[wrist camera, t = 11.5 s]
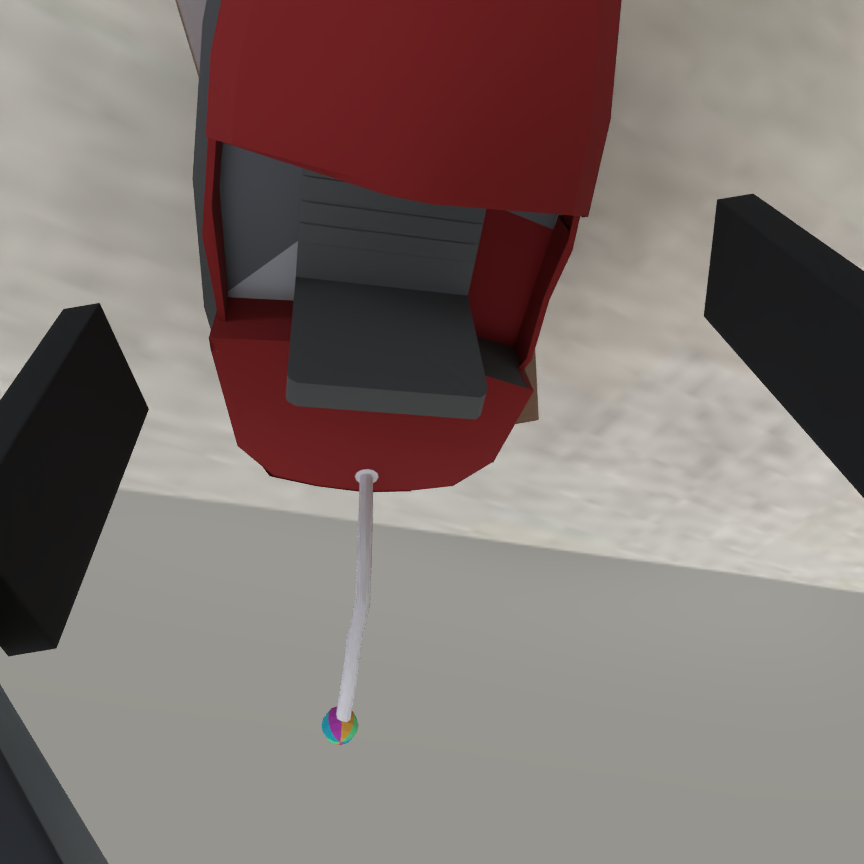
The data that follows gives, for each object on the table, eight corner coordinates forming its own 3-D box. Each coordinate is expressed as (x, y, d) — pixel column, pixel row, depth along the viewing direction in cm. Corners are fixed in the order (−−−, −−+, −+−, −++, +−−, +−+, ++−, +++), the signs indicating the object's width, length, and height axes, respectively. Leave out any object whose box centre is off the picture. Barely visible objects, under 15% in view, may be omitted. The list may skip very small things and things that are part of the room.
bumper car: (672, -207, 15) (1061, -338, 7) (479, 494, 27) (544, 748, 19) (192, -334, 13) (-22, -710, 5) (207, 479, 25) (148, 755, 17)
